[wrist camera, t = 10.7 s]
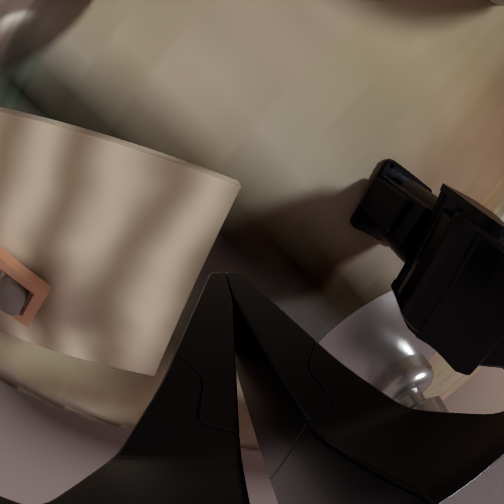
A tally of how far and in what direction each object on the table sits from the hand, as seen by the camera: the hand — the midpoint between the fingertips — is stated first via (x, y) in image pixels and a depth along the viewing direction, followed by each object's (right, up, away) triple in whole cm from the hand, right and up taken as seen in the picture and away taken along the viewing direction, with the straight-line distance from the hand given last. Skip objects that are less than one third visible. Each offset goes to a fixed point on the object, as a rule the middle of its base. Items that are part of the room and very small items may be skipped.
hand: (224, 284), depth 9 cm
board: (-16, 0, +12) cm, 20 cm away
